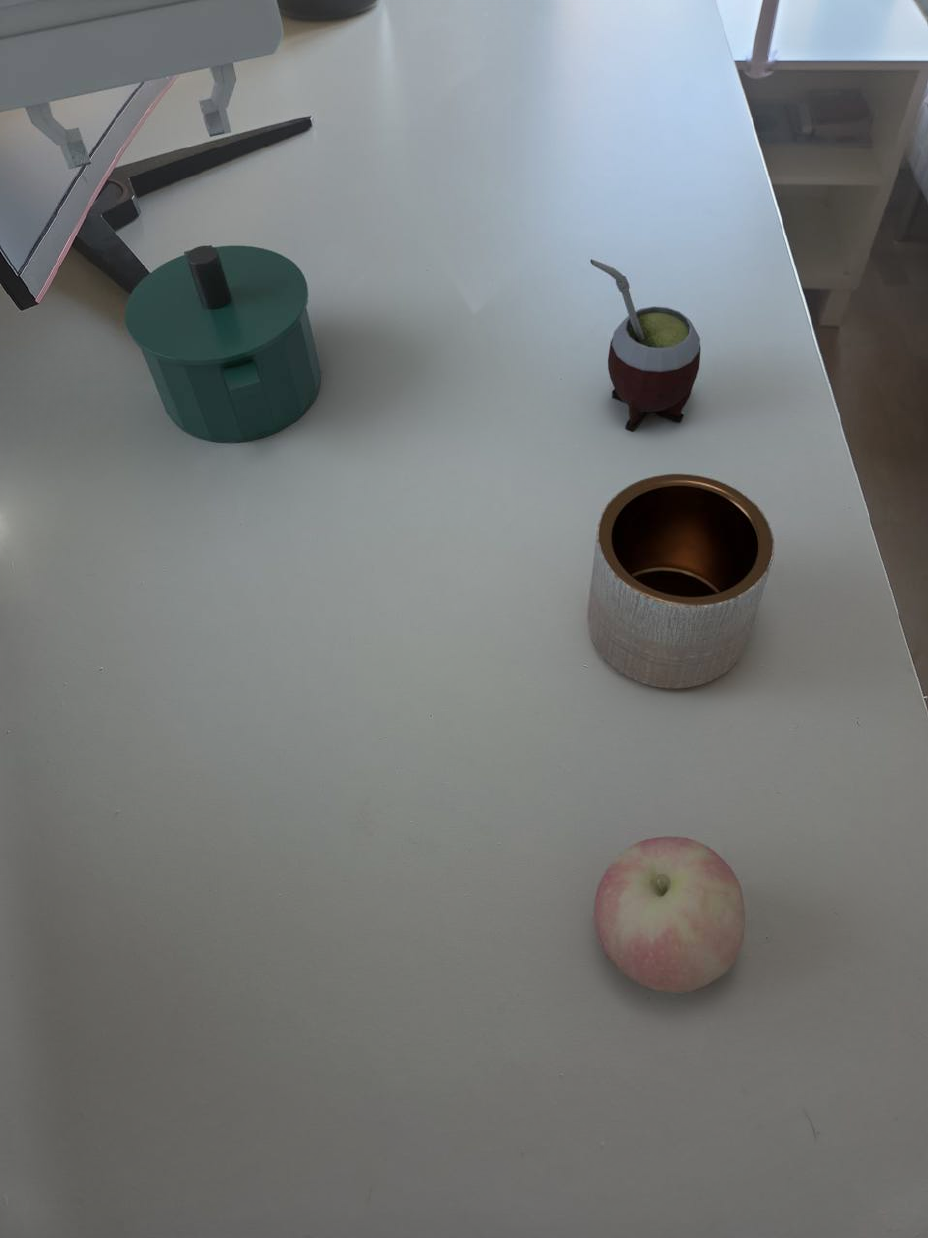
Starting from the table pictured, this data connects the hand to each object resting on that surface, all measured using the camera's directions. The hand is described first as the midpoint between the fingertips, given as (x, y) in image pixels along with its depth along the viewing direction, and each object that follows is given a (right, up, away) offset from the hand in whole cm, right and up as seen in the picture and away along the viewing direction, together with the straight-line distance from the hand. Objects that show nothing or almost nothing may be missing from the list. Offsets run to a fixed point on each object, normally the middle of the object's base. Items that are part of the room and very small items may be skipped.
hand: (149, 146), depth 64 cm
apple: (+32, -50, -10) cm, 60 cm away
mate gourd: (+36, -15, +14) cm, 41 cm away
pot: (+2, -12, +19) cm, 22 cm away
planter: (+35, -32, +2) cm, 48 cm away
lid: (+2, -7, +12) cm, 13 cm away
